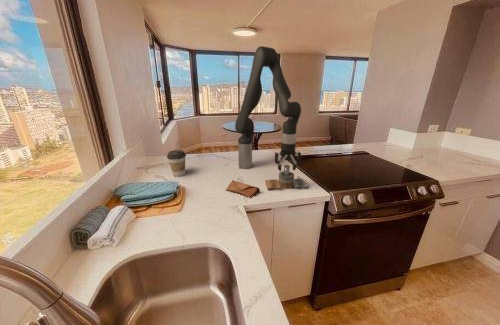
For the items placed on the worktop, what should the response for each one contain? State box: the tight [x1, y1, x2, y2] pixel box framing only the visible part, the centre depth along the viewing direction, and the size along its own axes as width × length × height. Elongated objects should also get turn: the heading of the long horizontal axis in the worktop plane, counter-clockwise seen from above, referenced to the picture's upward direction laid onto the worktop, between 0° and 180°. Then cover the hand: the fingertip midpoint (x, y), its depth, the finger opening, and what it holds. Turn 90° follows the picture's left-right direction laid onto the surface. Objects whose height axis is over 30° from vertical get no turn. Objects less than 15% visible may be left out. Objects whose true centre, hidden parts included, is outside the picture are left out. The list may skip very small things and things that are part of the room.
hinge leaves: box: [264, 170, 309, 191], centre depth 119 cm, size 22×10×7 cm, turn 95°
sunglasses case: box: [224, 179, 261, 199], centre depth 114 cm, size 18×7×7 cm, turn 60°
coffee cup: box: [166, 149, 187, 178], centre depth 132 cm, size 11×11×15 cm
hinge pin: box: [283, 164, 291, 176], centre depth 118 cm, size 3×3×12 cm
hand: (286, 170), depth 116 cm, fingers open, 7 cm apart
